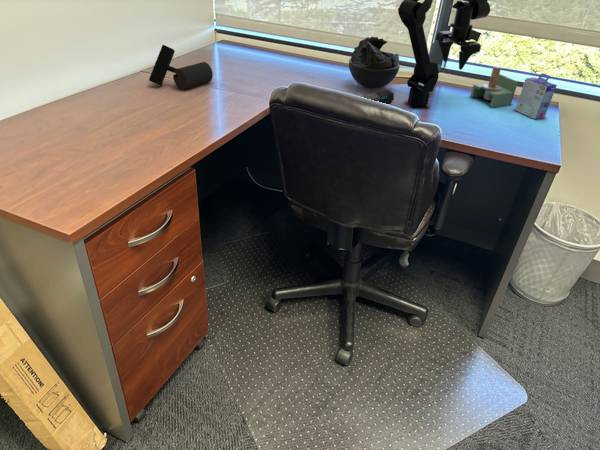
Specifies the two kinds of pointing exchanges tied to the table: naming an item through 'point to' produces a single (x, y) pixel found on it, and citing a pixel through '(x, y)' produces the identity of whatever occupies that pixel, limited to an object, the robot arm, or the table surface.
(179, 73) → the track light
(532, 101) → the ink cartridge box
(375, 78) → the bowl of black rocks
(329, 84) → the table surface
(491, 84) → the cylinder on round base
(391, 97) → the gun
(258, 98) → the table surface
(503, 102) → the rack
